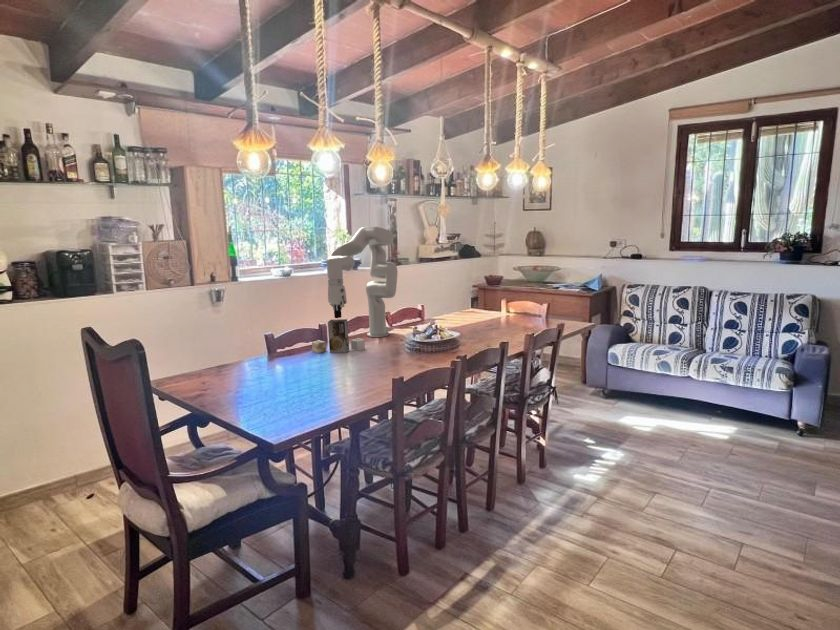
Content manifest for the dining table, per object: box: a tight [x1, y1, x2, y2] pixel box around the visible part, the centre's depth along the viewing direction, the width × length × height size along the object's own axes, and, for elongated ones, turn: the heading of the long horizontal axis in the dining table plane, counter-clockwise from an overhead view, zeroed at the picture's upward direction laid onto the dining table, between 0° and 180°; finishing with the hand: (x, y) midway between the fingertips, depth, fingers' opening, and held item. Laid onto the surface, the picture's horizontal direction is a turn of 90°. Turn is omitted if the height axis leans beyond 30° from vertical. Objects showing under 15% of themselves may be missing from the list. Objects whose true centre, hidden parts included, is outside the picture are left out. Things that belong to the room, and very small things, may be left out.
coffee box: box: [327, 318, 350, 353], centre depth 274 cm, size 9×6×16 cm
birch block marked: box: [311, 340, 327, 354], centre depth 276 cm, size 5×5×5 cm
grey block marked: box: [350, 337, 366, 351], centre depth 279 cm, size 5×5×5 cm
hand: (338, 317), depth 273 cm, fingers closed
